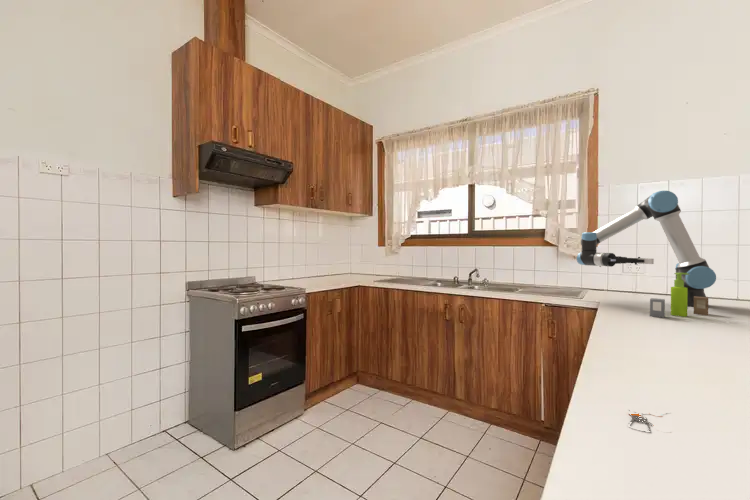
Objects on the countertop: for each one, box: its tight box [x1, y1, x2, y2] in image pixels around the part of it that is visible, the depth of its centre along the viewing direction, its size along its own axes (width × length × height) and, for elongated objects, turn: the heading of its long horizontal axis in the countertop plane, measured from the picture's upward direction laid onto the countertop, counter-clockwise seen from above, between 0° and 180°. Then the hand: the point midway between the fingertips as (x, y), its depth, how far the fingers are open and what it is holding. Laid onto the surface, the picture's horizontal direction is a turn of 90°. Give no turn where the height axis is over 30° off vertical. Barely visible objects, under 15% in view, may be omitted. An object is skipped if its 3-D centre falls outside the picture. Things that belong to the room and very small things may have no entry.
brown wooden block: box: [693, 296, 709, 316], centre depth 166 cm, size 5×5×8 cm
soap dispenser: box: [670, 272, 689, 317], centre depth 163 cm, size 6×7×20 cm
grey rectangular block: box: [649, 297, 666, 319], centre depth 161 cm, size 5×5×8 cm
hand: (652, 261), depth 173 cm, fingers closed
